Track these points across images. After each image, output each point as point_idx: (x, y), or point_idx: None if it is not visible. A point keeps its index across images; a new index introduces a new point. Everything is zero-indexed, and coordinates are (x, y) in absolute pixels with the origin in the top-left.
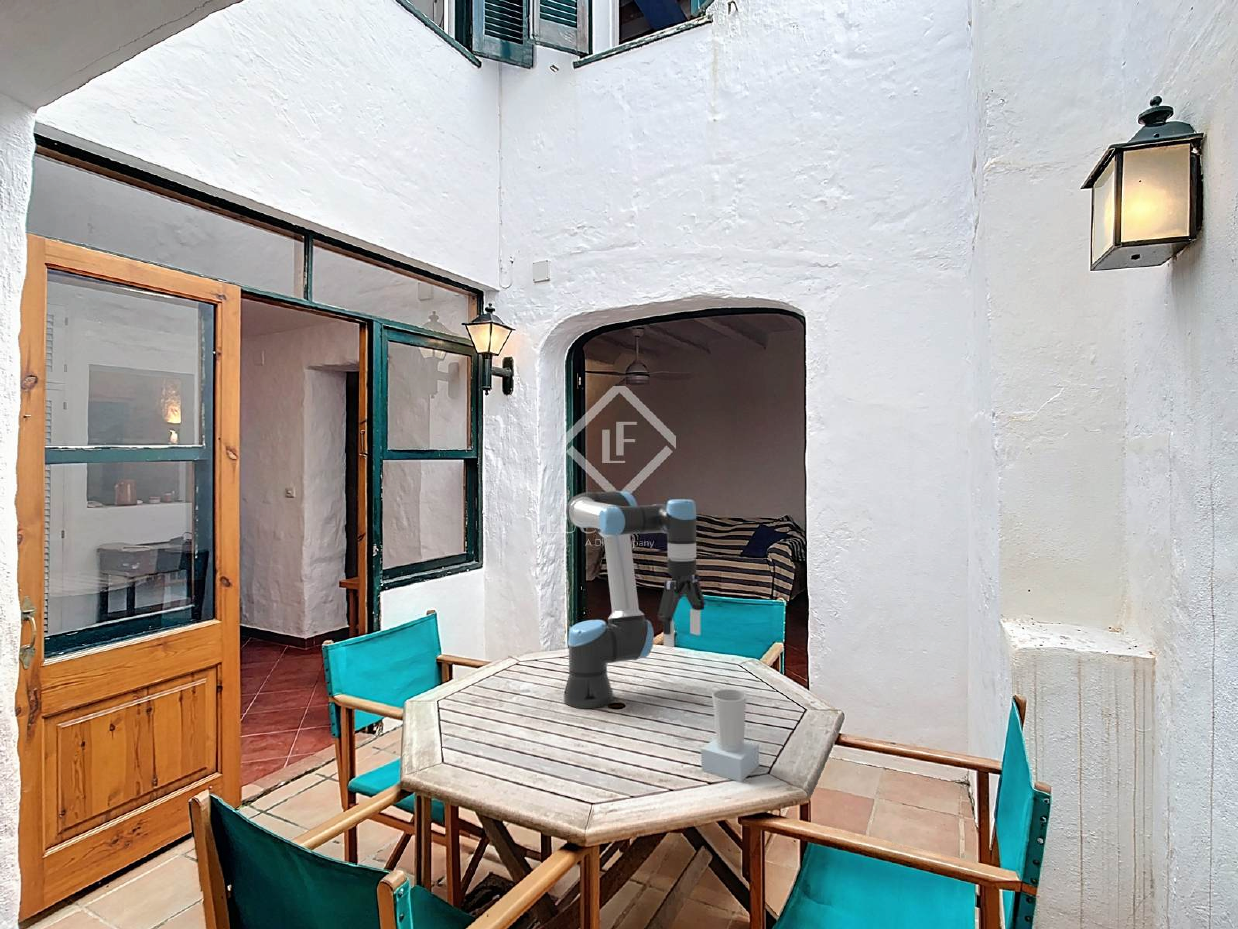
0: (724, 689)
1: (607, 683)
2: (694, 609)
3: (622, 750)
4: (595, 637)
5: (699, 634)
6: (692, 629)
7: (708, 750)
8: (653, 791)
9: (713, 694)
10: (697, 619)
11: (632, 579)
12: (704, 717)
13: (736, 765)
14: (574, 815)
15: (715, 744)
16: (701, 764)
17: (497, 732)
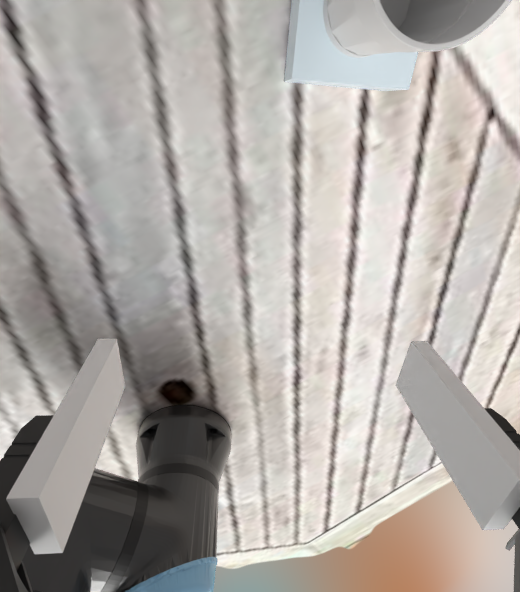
0: (380, 9)
1: (168, 441)
2: (26, 537)
3: (354, 286)
4: (186, 567)
5: (111, 340)
6: (115, 396)
7: (414, 62)
8: (504, 145)
9: (455, 39)
10: (79, 430)
11: None
12: (105, 224)
13: None
14: None
15: (368, 60)
16: (391, 90)
17: (366, 452)
